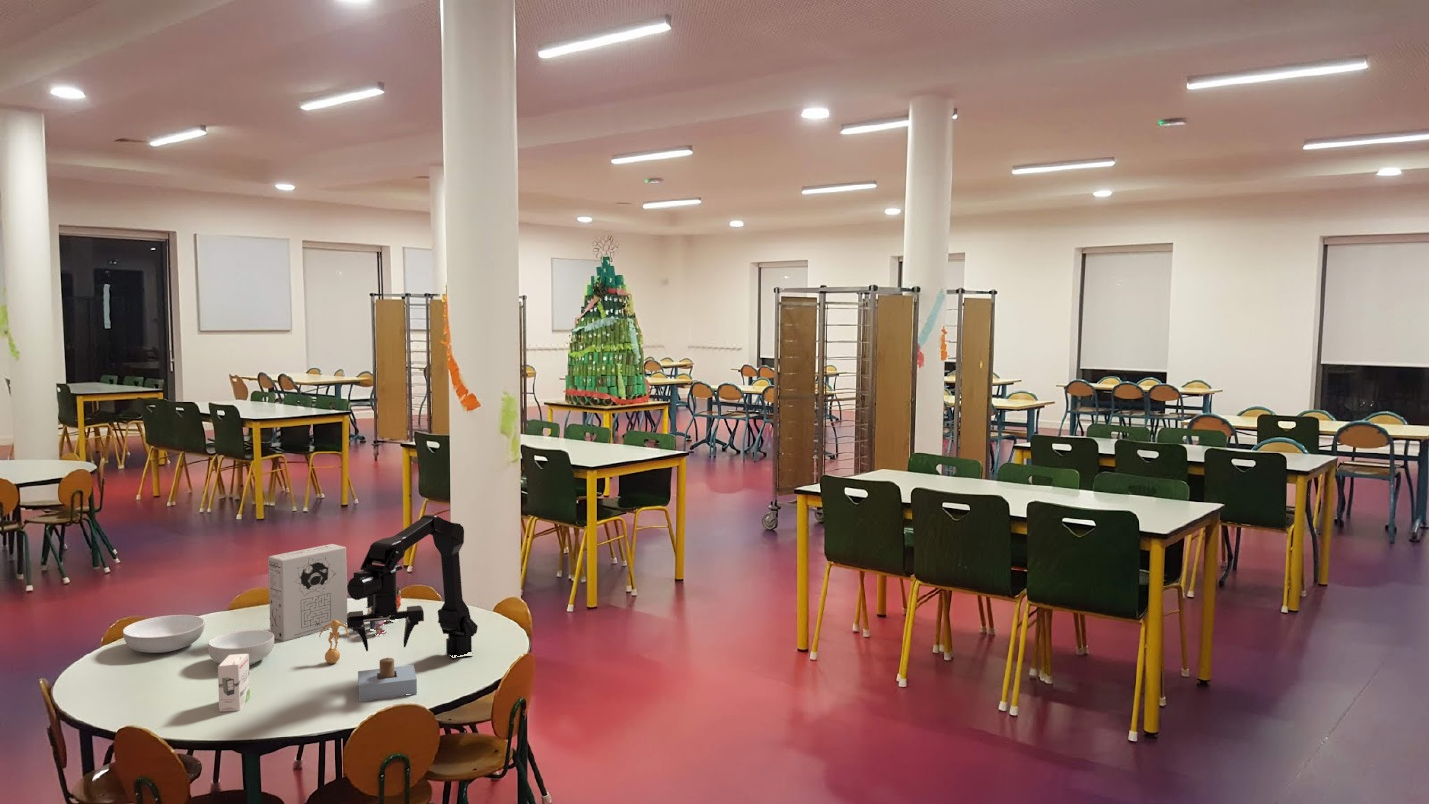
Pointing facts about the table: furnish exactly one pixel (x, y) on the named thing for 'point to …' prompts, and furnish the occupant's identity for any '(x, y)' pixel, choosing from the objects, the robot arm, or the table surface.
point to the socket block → (386, 683)
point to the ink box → (233, 682)
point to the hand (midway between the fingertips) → (386, 648)
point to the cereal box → (307, 591)
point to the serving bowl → (163, 633)
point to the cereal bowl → (241, 645)
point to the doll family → (379, 624)
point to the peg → (386, 668)
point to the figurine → (334, 654)
